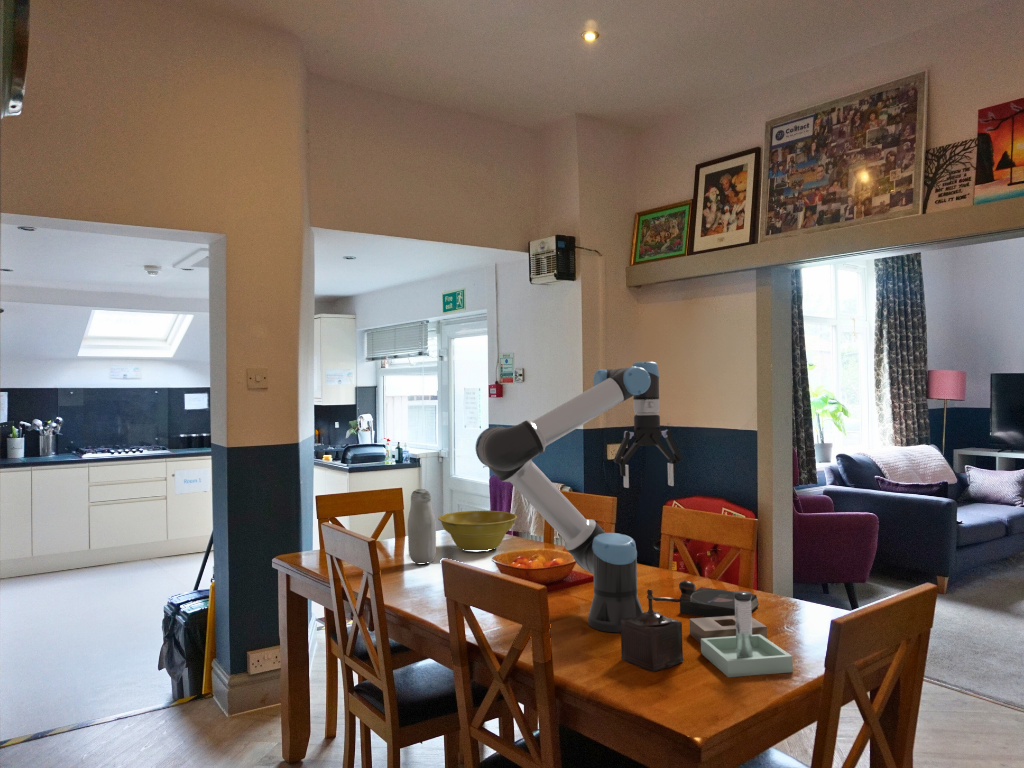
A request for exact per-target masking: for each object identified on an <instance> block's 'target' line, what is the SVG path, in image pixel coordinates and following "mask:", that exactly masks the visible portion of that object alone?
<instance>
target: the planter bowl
mask: <svg viewBox="0 0 1024 768" xmlns="http://www.w3.org/2000/svg"><path fill="white" fill-rule="evenodd" d="M517 519H518V516H517V514H514V513H511V512H506V511H498V510H465V511H456V512H455V511H454V512H449V513H445V514H442V515H440V516H438V521H440V522H441V525H442V527H443V530H444V531H445V532H447V533H449V534H450V537H451V539H452V540H453V542H454V544H455V545H456V547H457V548H458V549H460V550H461V549H464V550H488V549H494V548H496V549H497V548H499V546H500V545H501V544H502V541H504V538H505V535H506V533H507V532H509V530H510V531H511V529H512V527H513V525H514V523H515V520H517Z"/></svg>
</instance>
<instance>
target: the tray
mask: <svg viewBox="0 0 1024 768" xmlns="http://www.w3.org/2000/svg"><path fill="white" fill-rule="evenodd" d="M752 643H753V657H752V658H739V659H737V656H736V636H729V637H715V638H701V643H700V654H701V655H702V656H704V658H706V659H707V660H708V661H709V662H710V663H711V664H712V665H714V666H715V667H716V668H717V669H719V671H721V673H723V674H724V675H725V676H726V677H727V678H737V677H748V676H749V677H750V676H761V675H773V674H785V673H793V672H794V670H793V669H794V668H793V667H794V666H793V663H794V662H793V655H791V654H790V653H788V652H787V651H785V650H784V649H782V648H781V647H780V646H778V645H777V644H775V643H773V642H772V641H771V640H769V639H768V638H767V639H766V638H765V637H763V636H762V635H761V634H757V635H752Z"/></svg>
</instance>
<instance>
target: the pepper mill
mask: <svg viewBox="0 0 1024 768" xmlns="http://www.w3.org/2000/svg"><path fill="white" fill-rule="evenodd" d="M678 588H679V590H680V593H681V594H680V596H679V598H675V597H674V598H673V597H668V596H667V597H664V596H658V597H656V596H653V590H652V589H650V588H649V589H647V591H646V593H647V595H646V599H647V600H648V609H647V611H643V613H642V614H640V615H639V616H634V617H630V618H627V619H623V620H621V632H620V645H621V647H620V651H621V652H620V653H621V654H620V655H621V657H620V659H621V660H622V661H623V662H626V663H628V664H631V665H633V666H636V667H637V668H640V669H643V670H645V671H648V672H651V673H655V672H657V671H661V670H662V671H663V670H665V669H668V668H671V667H673V666H676V665H679V664H681V663H683V662H684V657H683V654H684V653H683V650H684V649H683V648H684V647H683V623H682V621H679V620H677V619H674V618H671V617H667V616H664V615H663V614H661V613H660V612H657V611H654V609H653V601H656V602H671V603H680V602H684V603H685V602H687V601H689V602H691V601H692V600H691V595H692V594H693V593H694V592H695V591H696V590H697V587H696V584H695V583H694V582H693V581H690V580H682V581H680V582H679V584H678Z"/></svg>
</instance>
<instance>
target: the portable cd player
mask: <svg viewBox="0 0 1024 768" xmlns="http://www.w3.org/2000/svg"><path fill="white" fill-rule="evenodd" d="M734 592H735V591H732V590H725V589H717V588H710V587H703V586H700V587H699V588H696V590H695V592H694V593H693V594H692V595H691V600H692V601H691V602H689V601H687V602H685V603H684V602H679V613H680V614H683V615H684V614H685V615H689V616H690V615H691V616H696V617H700V618H707V617H721V616H735V598H734ZM759 605H760V603H759V600H758V596H757V594H754V593H752V599H751V612H752V613H753V612H754V611H755V610H756V609H757V608H758V607H759Z"/></svg>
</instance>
